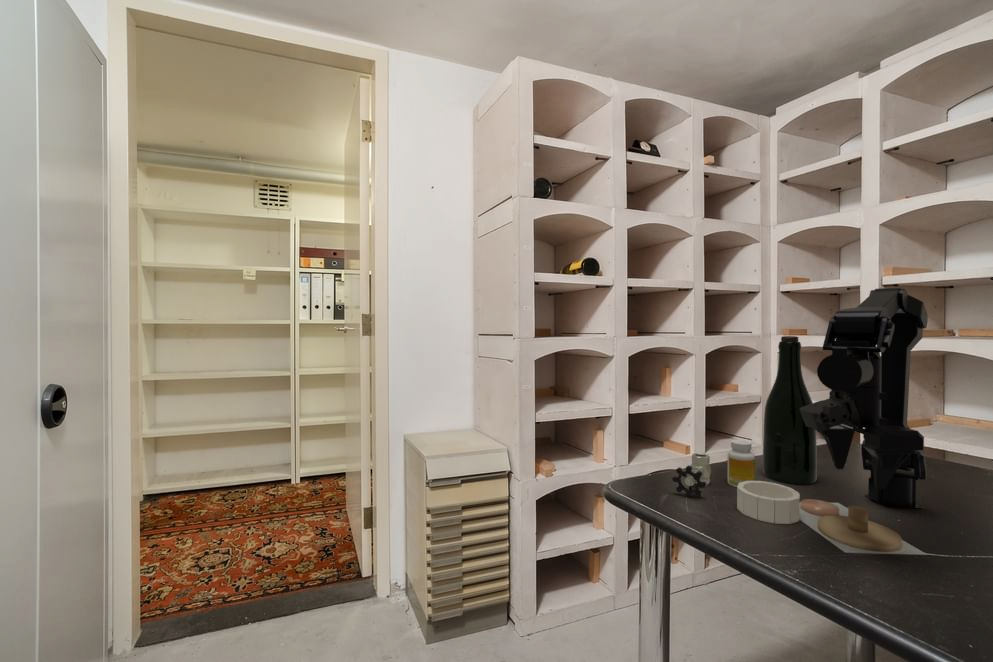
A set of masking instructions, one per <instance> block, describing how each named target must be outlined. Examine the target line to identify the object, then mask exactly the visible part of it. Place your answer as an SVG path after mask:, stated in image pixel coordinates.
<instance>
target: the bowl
mask: <svg viewBox="0 0 993 662" xmlns="http://www.w3.org/2000/svg"><path fill="white" fill-rule="evenodd" d="M736 491H737V492H736V495H737V496H736V509H737V510H738V511H739V512H740V513H741V514H743V515H744V516H747V517H748V518H751V519H754V520H756V521H762V522H765V523H771V524H778V525H779V524H780V525H782V524H783V525H791V524H795V523H797V522H800V520H799V502H801V501H800V499H801V498H800V496H801V495H800V492H798V491H796V490H795V489H793V488H792V487H789V486H787V485H783V484H779V483H778V482H777V483H776V482H770V481H763V480H755V481H744V482H740V483H738V486H737V487H736Z"/></svg>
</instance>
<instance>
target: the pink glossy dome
mask: <svg viewBox="0 0 993 662" xmlns="http://www.w3.org/2000/svg"><path fill="white" fill-rule="evenodd" d="M832 503H833V502H829V501H825V500H821V499H815V498H813V499H812V498H808V499H806V498H805V499H802V500H801V501H800V507H801V509H802V510H804V511H805V512H807V513H810V514H813V515H817V516H822V517H823V516H830V515H838V516H839V508H838V507H837V506H836V505H834V504H832Z"/></svg>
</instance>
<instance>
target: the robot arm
mask: <svg viewBox="0 0 993 662" xmlns="http://www.w3.org/2000/svg"><path fill="white" fill-rule="evenodd" d="M868 294H869V296H868V297H866V298H865V299H864V300H863V301H862V302H861V303H860V304H859V305H857V306H855V307H851V308H843V309H839V310H836V312H835V313H834V315H833V316H831V317H830V319H829V322H828V324H827V325H828V326H827V328H826V329H827V330H826V334H825V338H824V341H823V345H822V350H823V351H831V354H830V355H827V356H825V357H824V358H822V359H821V361H820V362H819V363H818V364H819V365H818V366H817V369H816V373H817V378H818V379H819V381H820V383H821V384H822V385H823V386H825V387H826V388H828V389H830V391H829V397H828V398H827V399H823V400H819V401H815V402H813V403H812V404H809V405H806V406H803V407H801V408H800V412H801V414H802V417H803V420H804V422H805V425H806V426H807V427H812V428H813V429H815V430H816V432H818V433H819V434H820V435H821V436H822V437H823V438H824V439H823V440H824V441H825V443H826V445H827V448H828V451H829V454H830V456H831V458H832V459H831V460H832V462H833V465H834V468H835V469H837V470H843V469H844V468H845V466H846V462H847V460H848V455H849V452H850V449H851V446H852V442H853V438H854V435H855V433H858V434H862V435H863V441H862V442H861V460H862V470H864V471H870V477H868V487H867V488H868V493H867V494H866V493H865V494H864V497H865V498H867V499H870V500H871V501H873V502H875V503H877V504H879V505H881V506H882V507H885V508H887V509H893V510H895V509H896V510H897V509H899V510H900V509H901V510H923V509H924V507H923V506H921V505H920V504H917V482H918V481H920V480H922V481H923V480H924V481H925V480H927V475H928V474H927V472H928V471H927V465H926V464H927V463H926V458H925V456H924V455H923V454H922V451H924V450H925V437H924V436H923V434H921V432H919V431H918V430H916V429H912V428H910V427H909V425H908V412H909V410H908V409H909V393H910V392H909V391H910V390H909V389H910V373H911V372H910V371H911V353H912V350H913V349H914V348H915V347H916V345H917V344H918V343H919V342H920V341H921V340H922V338H923V335H924V333H923V332H924V330H925V329H927V328H928V327H927V326H928V321H929V320H928V311H927V308H926V307H925V306H926V305H925V304H924V302H923V301H922V300H920V299H919V298H916V297H914V296H912V295H910V294H908V291H907V289H906V288H902V287H883V288H882V287H881V288H874V289H871V290H870V291H869V293H868Z"/></svg>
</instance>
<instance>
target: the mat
mask: <svg viewBox="0 0 993 662" xmlns="http://www.w3.org/2000/svg"><path fill="white" fill-rule="evenodd" d="M800 502H801V501H800ZM800 502H799V521H801V522H802V523H803V524H804V525H806V526H808V527H809V528H811V529H812V530H814V532H816V533H817V534H819V535H820V536H822V537H823V538H824V539H826V540H827V541H828V542H830V543H831V544H833V545H834V546H835V547H837V548H838V549H840V550H841V551H842V552H844V553H846V554H871V555H873V554H874V555H876V554H879V555H912V556H913V555H918V556H919V555H920V556H928V554H927V553H926V552H924V551H922V550H920V549H919V548H917V547H916V546H913V545H911V544H910V543H908V542H907V541H905V540H903V539H902V547H901V548H900V549H899V550H896V551H890V552H881V551H871V550H865V549H860V548H856V547H853V546H849V545H846V544H843V543H840V542H838V541H835V540H833V539H831V538H829V537H827V536H826V535H824V534H823V533H821V532H820V531H819V529H818V519H819V518H820V517H822V516H817V515H813V514H810V513H807V512H805V511H804V510H802V509H801V507H800ZM831 503H832V504H834V505H836V506H837V507H838V508H839V516H848V507H846V506H844V505H843V504H842V503H839V502H831ZM868 521H870V520H869V519H868Z"/></svg>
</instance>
